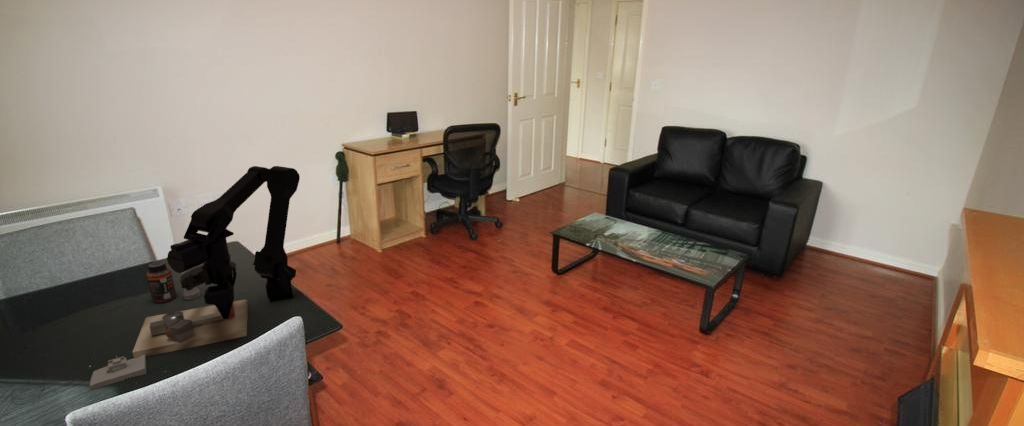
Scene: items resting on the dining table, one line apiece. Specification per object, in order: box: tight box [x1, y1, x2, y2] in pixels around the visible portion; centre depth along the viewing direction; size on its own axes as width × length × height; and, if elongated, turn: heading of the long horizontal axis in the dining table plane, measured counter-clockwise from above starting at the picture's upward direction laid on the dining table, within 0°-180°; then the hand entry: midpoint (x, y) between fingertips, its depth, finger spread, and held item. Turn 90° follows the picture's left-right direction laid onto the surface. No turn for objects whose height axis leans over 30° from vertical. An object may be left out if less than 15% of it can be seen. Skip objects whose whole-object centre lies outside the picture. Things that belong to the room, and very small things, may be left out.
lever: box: [150, 304, 235, 335], centre depth 127 cm, size 18×4×7 cm, turn 121°
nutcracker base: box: [132, 299, 249, 358], centre depth 129 cm, size 24×17×6 cm
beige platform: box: [89, 355, 147, 391], centre depth 113 cm, size 12×11×4 cm
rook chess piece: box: [180, 270, 201, 301], centre depth 145 cm, size 4×4×8 cm
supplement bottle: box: [146, 260, 177, 304], centre depth 143 cm, size 6×6×11 cm
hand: (226, 310), depth 130 cm, fingers open, 9 cm apart
